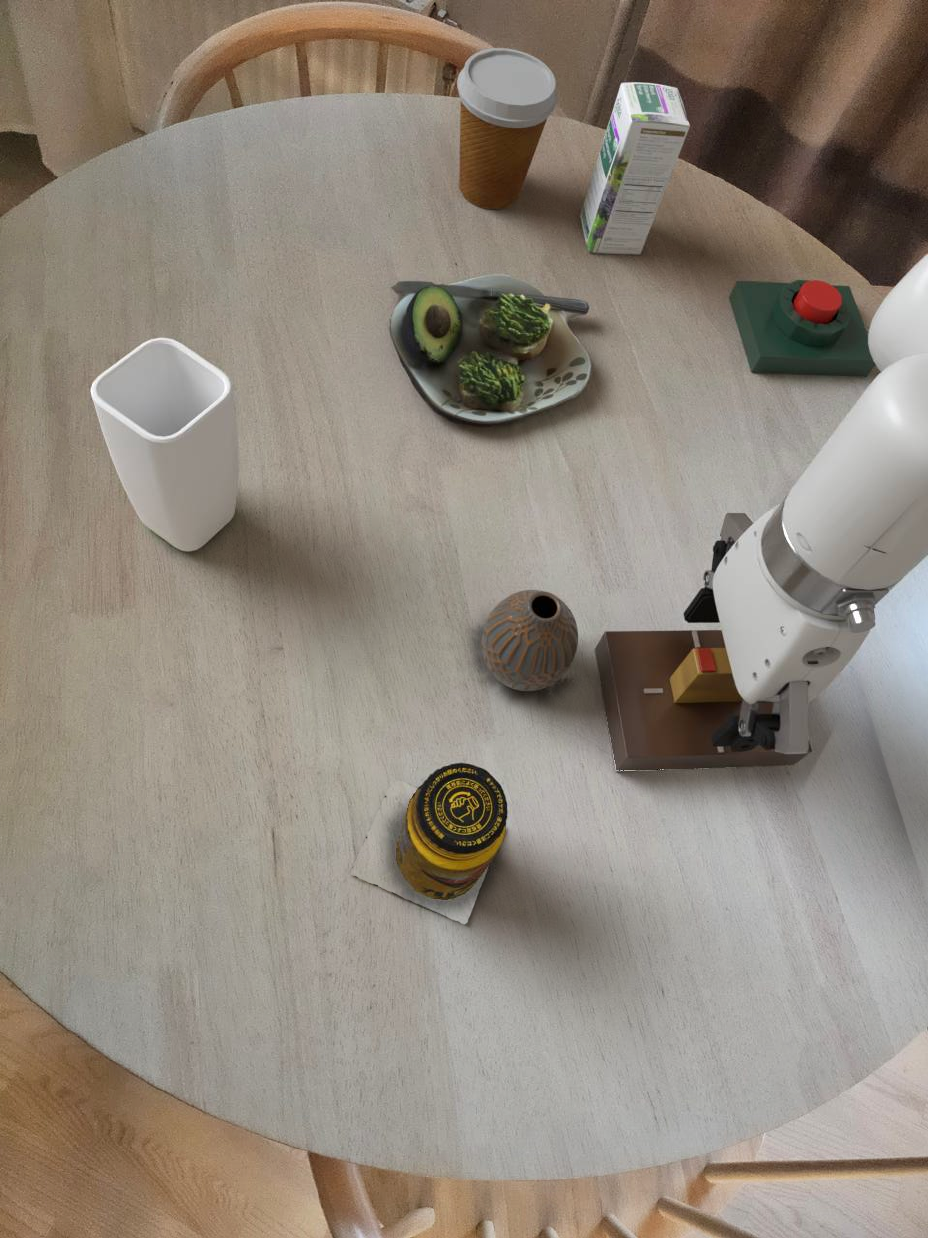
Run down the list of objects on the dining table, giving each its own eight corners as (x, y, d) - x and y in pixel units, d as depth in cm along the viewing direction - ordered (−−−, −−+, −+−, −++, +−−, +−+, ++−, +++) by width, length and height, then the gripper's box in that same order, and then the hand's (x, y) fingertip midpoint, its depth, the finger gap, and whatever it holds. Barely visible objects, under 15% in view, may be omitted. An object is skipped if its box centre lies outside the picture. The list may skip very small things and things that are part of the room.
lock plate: (763, 646, 76) (780, 627, 73) (794, 765, 71) (813, 750, 68) (594, 649, 73) (605, 630, 71) (615, 772, 69) (627, 757, 66)
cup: (186, 464, 76) (160, 327, 63) (256, 513, 75) (244, 384, 62) (119, 521, 73) (77, 389, 60) (190, 573, 72) (163, 450, 59)
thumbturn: (739, 676, 71) (768, 645, 66) (745, 701, 70) (775, 671, 65) (669, 678, 70) (694, 646, 65) (674, 703, 69) (699, 672, 64)
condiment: (466, 927, 62) (497, 885, 52) (348, 875, 63) (355, 823, 52) (504, 826, 66) (540, 768, 55) (392, 778, 66) (407, 712, 56)
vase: (517, 721, 70) (542, 670, 62) (456, 654, 72) (474, 596, 64) (583, 669, 72) (614, 615, 65) (522, 606, 74) (546, 546, 67)
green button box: (838, 302, 97) (858, 271, 93) (866, 377, 92) (888, 347, 89) (728, 297, 95) (744, 265, 91) (751, 373, 90) (768, 342, 87)
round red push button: (827, 294, 92) (835, 280, 90) (838, 325, 90) (847, 311, 88) (788, 292, 91) (796, 278, 89) (799, 323, 89) (807, 309, 88)
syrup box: (577, 215, 98) (617, 78, 85) (632, 217, 99) (679, 83, 86) (587, 254, 95) (629, 119, 82) (643, 256, 96) (693, 123, 83)
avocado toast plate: (544, 261, 94) (554, 222, 90) (635, 393, 87) (650, 357, 83) (363, 304, 87) (365, 264, 83) (446, 449, 81) (453, 414, 77)
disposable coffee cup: (503, 234, 95) (527, 122, 84) (425, 189, 96) (438, 74, 86) (551, 187, 99) (579, 76, 89) (475, 146, 101) (494, 31, 90)
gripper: (942, 689, 49) (795, 793, 64) (850, 429, 58) (739, 574, 72) (809, 692, 48) (691, 797, 63) (734, 425, 56) (645, 574, 71)
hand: (717, 678), depth 68 cm, fingers open, 9 cm apart
